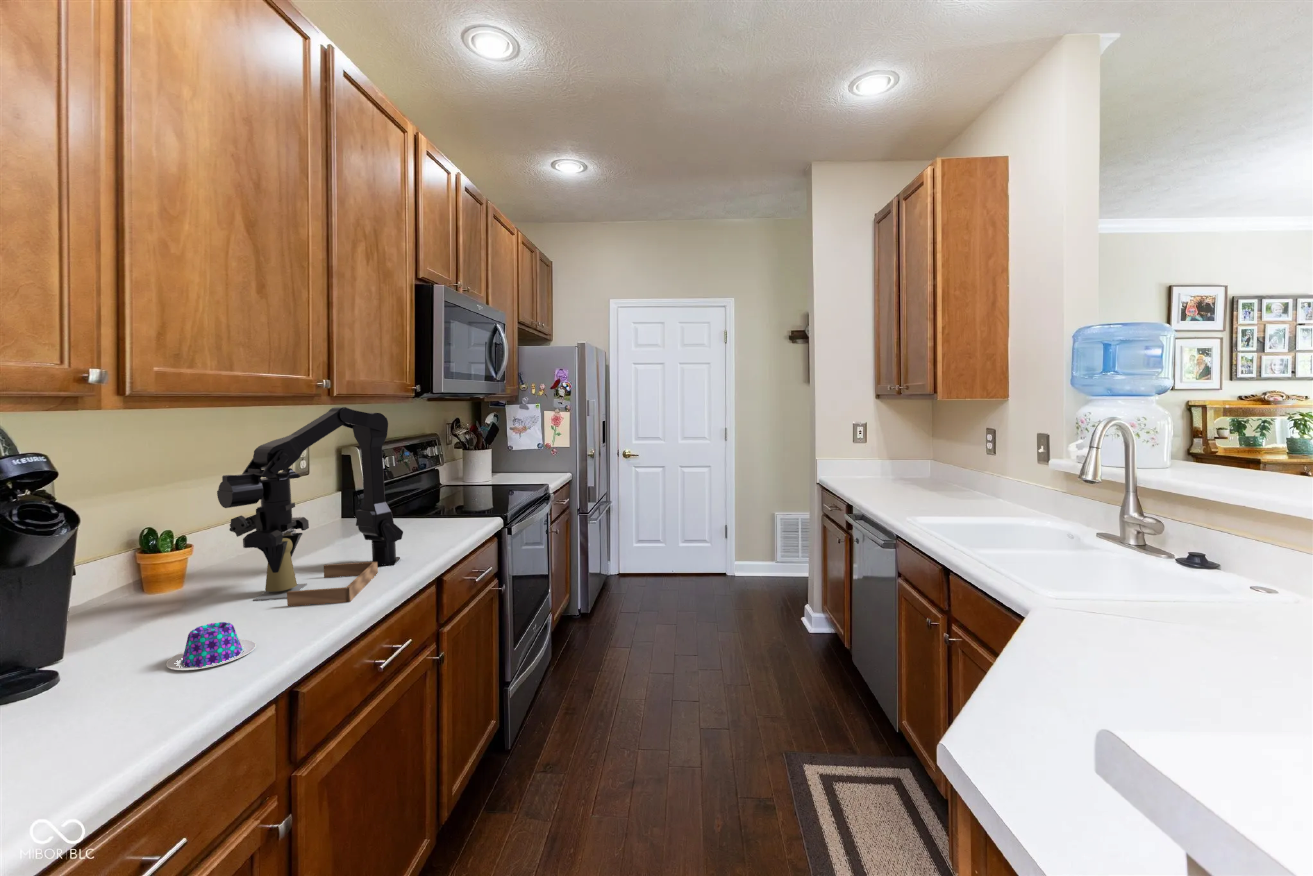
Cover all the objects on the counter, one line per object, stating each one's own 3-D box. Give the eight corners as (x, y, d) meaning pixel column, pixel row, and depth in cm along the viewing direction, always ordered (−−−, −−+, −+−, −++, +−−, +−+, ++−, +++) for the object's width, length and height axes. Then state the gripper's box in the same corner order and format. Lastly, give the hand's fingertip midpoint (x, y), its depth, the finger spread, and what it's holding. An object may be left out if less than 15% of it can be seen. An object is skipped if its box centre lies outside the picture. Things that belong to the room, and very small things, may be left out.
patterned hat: (254, 638, 107) (252, 609, 106) (258, 660, 97) (256, 629, 97) (168, 656, 99) (166, 625, 99) (163, 682, 90) (161, 648, 90)
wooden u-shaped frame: (325, 576, 144) (324, 564, 143) (377, 573, 146) (377, 561, 146) (287, 606, 122) (286, 592, 122) (349, 602, 125) (349, 588, 124)
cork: (303, 583, 135) (300, 535, 134) (284, 591, 129) (281, 542, 128) (278, 582, 135) (275, 535, 135) (258, 591, 129) (255, 542, 129)
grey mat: (274, 586, 136) (273, 585, 136) (307, 584, 137) (307, 583, 137) (253, 601, 126) (253, 599, 126) (288, 598, 128) (288, 597, 128)
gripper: (256, 495, 138) (260, 561, 139) (212, 510, 120) (217, 585, 121) (307, 493, 140) (311, 557, 141) (272, 507, 122) (277, 580, 123)
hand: (280, 569), depth 132 cm, fingers closed on cork, 4 cm apart
